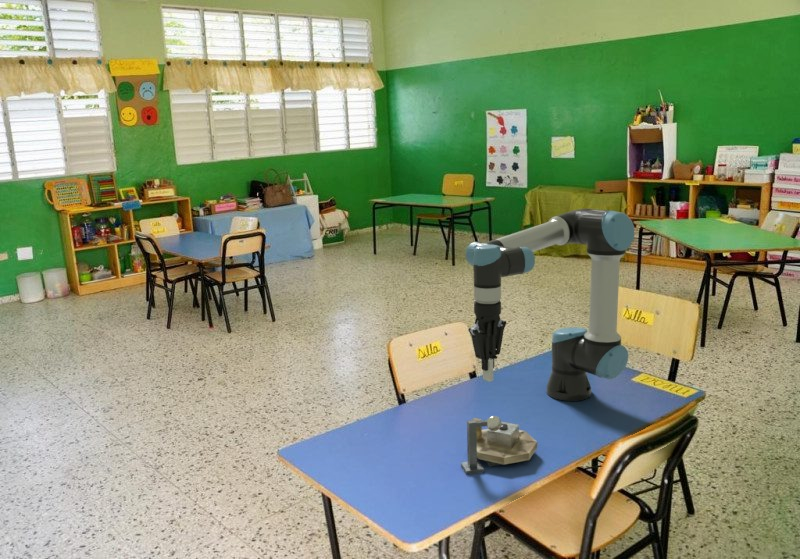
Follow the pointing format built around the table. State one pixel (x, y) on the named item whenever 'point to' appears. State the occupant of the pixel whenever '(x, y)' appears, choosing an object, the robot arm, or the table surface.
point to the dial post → (474, 464)
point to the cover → (504, 435)
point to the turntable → (505, 448)
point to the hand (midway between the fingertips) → (488, 379)
